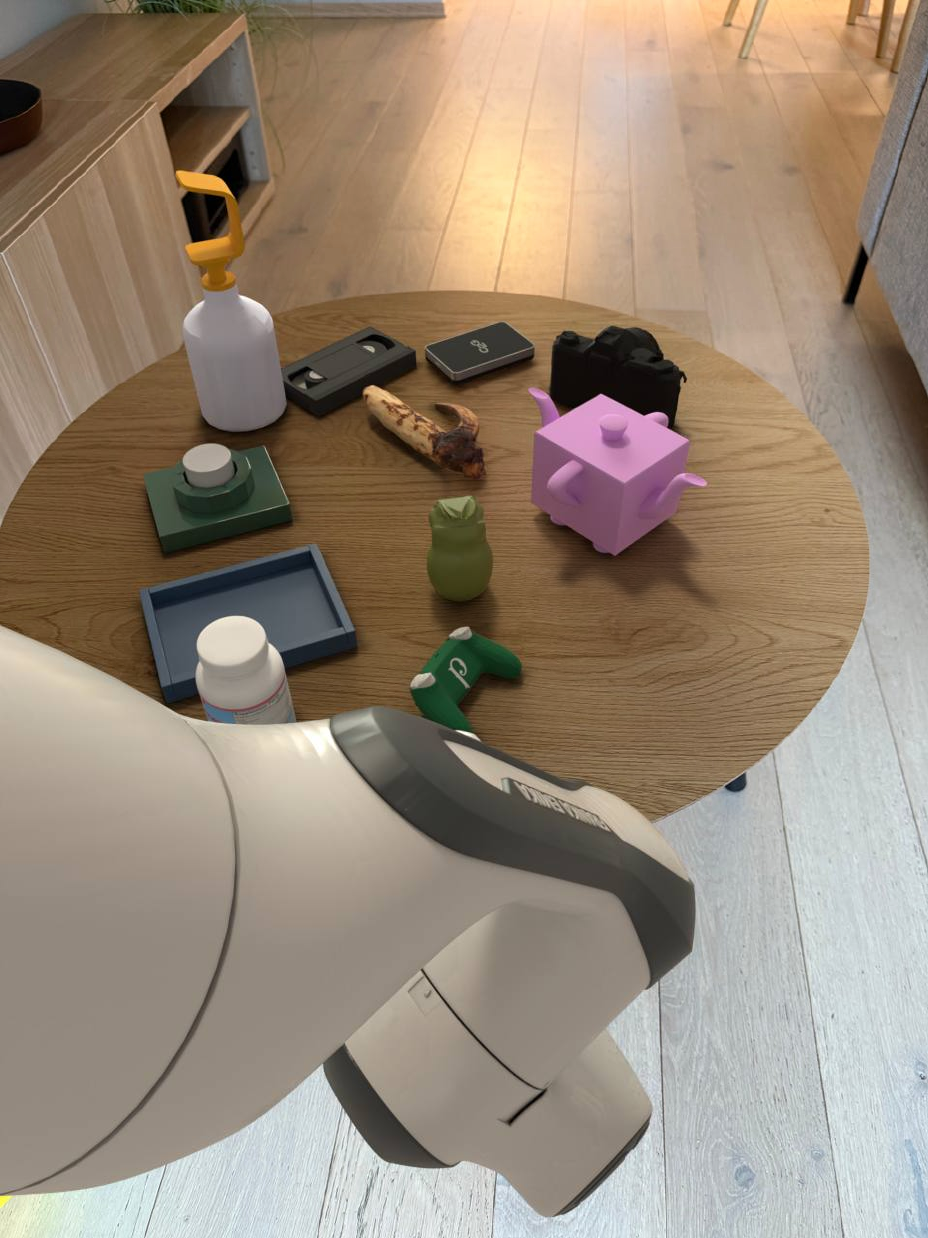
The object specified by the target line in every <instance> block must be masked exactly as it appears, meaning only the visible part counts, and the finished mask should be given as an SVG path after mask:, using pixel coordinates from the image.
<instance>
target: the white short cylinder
mask: <svg viewBox="0 0 928 1238" xmlns="http://www.w3.org/2000/svg"><path fill="white" fill-rule="evenodd" d="M228 449H229V448H228V447H226V446H225V445H222V444H219V443H204V444H200V445H197V446H194V447H192V448H191V449H189V450H188V451H186V453H185V454H184V455H183V457H182V459H183V466H184V470H185V473H186V477H187V480H188V482H189V484H191V485H192V486H193V487H195V488H206V489H209V488H213V487H217V486H221V485H224V484H226V483H227V482H229V481H230V480H232V479H233V477H234V474H235V469H234V465H233V461H232V456H231V453H230V451H229V450H228Z"/></svg>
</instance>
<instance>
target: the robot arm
mask: <svg viewBox="0 0 928 1238" xmlns="http://www.w3.org/2000/svg"><path fill="white" fill-rule="evenodd" d="M473 733H474V732H473ZM473 733H469V732H465V731H461V730H453V729H450V728H448V727H445V726H443V725H441V724H438V723H436V722H433V721H430V720H428V719H427V718H426V717H421V716H418V715H415V714H413V713H410V712H406V711H404V710H403V711H402V710H399V709H395V708H391V707H387V706H382V705H373V706H368V707H365V708H361V709H360V708H359V709H356V710H350V711H346V712H343V713H338V714H333V715H332V716H331V717H330V718H323V719H315V720H307V721H299V722H297V723H287V724H272V725H243V724H225V723H216V722H209V721H208V720H203V719H198V718H193V717H189V716H186V715H183V714H180V713H178V712H176V711H174V710H172V709H171V708H170V707H167V706H166V705H164V704H162V703H160V702H159V701H157V700H156V699H153V698H152V697H150V696H148V695H147V694H145V693H144V692H143V693H142V692H141V691H139V690H138V689H136V688H134V687H133V686H130V685H128V684H127V683H126V682H124V681H122V680H120V679H118V678H116V677H114V676H112V675H111V674H108V673H107V672H104V671H102V670H100V669H98V668H96V667H95V666H92V665H90V664H88V663H86V662H84V661H82V660H80V659H78V658H75V657H74V656H71V655H70V654H68V653H66V652H63V651H61V650H59V649H58V648H55V647H52V646H50V645H48V644H45V643H42V642H40V641H38V640H36V639H34V638H31V637H29V636H26V635H24V634H21V633H19V632H17V631H14V630H12V629H9V628H8V627H5V626H2V625H0V1197H10V1196H11V1197H13V1196H28V1195H30V1196H31V1195H45V1194H58V1193H67V1192H76V1191H81V1190H88V1189H93V1188H94V1189H95V1188H100V1187H103V1186H107V1185H111V1184H115V1183H118V1182H122V1181H125V1180H129V1179H132V1178H134V1177H138V1176H140V1175H143V1174H146V1173H149V1172H152V1171H154V1170H157V1169H160V1168H162V1167H164V1166H166V1165H169V1164H172V1163H174V1162H176V1161H179V1160H181V1159H184V1158H186V1157H188V1156H190V1155H193V1154H195V1153H198V1152H200V1151H203V1150H204V1149H206V1148H209V1147H211V1146H213V1145H216V1144H217V1143H220V1142H222V1141H224V1140H225V1139H227V1138H229V1137H231V1136H233V1135H236V1133H239V1132H240V1131H242V1130H244V1129H245V1128H246V1127H248V1126H249V1125H251V1124H253V1123H255V1122H256V1121H257V1120H259V1119H260V1118H262V1117H263V1116H264V1115H265V1114H267V1113H268V1112H269V1111H270V1110H272V1109H273V1108H274V1107H275V1106H277V1105H278V1104H279V1103H280V1102H282V1101H283V1100H284V1099H285V1098H287V1096H288V1095H290V1094H291V1093H292V1092H293V1091H294V1090H296V1089H297V1088H298V1087H299V1086H300V1085H301V1084H302V1083H304V1082H305V1081H306V1079H308V1078H310V1076H311V1075H313V1073H314V1072H316V1070H318V1069H319V1068H320V1067H321V1066H322V1070H323V1073H324V1076H325V1079H326V1081H327V1083H328V1085H329V1086H330V1089H331V1091H332V1092H333V1094H334V1096H335V1097H336V1099H337V1101H338V1102H339V1105H340V1106H341V1108H342V1109H343V1111H344V1113H345V1114H346V1115H347V1118H348V1119H349V1120H350V1121H351V1123H352V1124H353V1126H354V1127H355V1129H356V1131H357V1132H358V1133H359V1135H360V1136H361V1137H362V1139H363V1140H364V1141H365V1143H366V1144H367V1145H368V1146H369V1148H370V1149H371V1150H372V1151H373V1152H374V1153H375V1154H376V1155H377V1157H379V1158H380V1159H381V1160H382V1161H384V1162H386V1163H388V1164H393V1165H399V1166H404V1167H411V1168H417V1169H430V1170H431V1169H432V1170H435V1169H437V1170H439V1169H452V1168H455V1167H456V1166H458V1165H460V1164H461V1162H468V1163H471V1164H475V1165H478V1166H480V1167H484V1168H486V1169H488V1170H491V1171H493V1172H495V1173H497V1174H499V1175H500V1176H501V1177H502V1178H503V1179H504V1180H505V1181H506V1182H507V1183H508V1184H509V1185H510V1186H511V1187H512V1188H513V1189H514V1191H516V1193H517V1194H518V1195H519V1196H520V1197H521V1198H522V1199H523V1200H524V1201H525V1203H526V1204H527V1205H528V1206H529V1207H530V1208H531V1209H532V1210H533V1211H534V1212H536V1214H538V1215H539V1216H541V1217H543V1218H547V1219H548V1218H556V1217H559V1216H564V1215H566V1214H568V1213H570V1212H571V1211H573V1210H575V1209H576V1208H577V1207H579V1206H580V1205H581V1203H582V1202H584V1201H586V1200H587V1199H588V1198H590V1196H591V1195H593V1193H595V1191H596V1190H597V1189H599V1188H600V1186H601V1185H602V1184H603V1183H605V1181H606V1180H608V1178H609V1177H610V1176H611V1175H612V1174H613V1173H615V1171H616V1170H617V1169H618V1168H619V1167H620V1166H621V1165H622V1164H623V1162H624V1161H625V1160H626V1158H627V1156H628V1155H629V1154H630V1153H631V1152H632V1151H633V1150H635V1149H636V1147H637V1146H638V1145H639V1143H640V1142H641V1141H642V1139H643V1138H644V1136H645V1135H646V1133H647V1131H648V1129H649V1127H650V1125H651V1122H650V1121H651V1118H652V1115H653V1110H654V1106H653V1102H652V1100H651V1098H650V1096H649V1094H648V1093H647V1090H646V1089H645V1086H644V1085H643V1084H642V1082H641V1081H640V1078H639V1077H638V1075H637V1074H636V1072H635V1070H634V1068H633V1067H632V1065H631V1064H630V1062H629V1061H628V1060H627V1058H626V1056H625V1054H624V1053H623V1051H622V1050H621V1049H620V1047H619V1046H618V1043H616V1041H615V1040H614V1038H613V1036H612V1035H611V1033H610V1032H609V1030H607V1028H608V1027H609V1026H610V1025H611V1024H612V1023H613V1022H614V1021H615V1020H616V1019H617V1018H618V1017H619V1015H621V1014H622V1013H623V1012H624V1010H626V1009H627V1008H628V1007H629V1006H630V1005H631V1004H632V1002H634V1001H635V1000H636V999H637V997H639V996H640V995H641V994H642V993H643V992H644V991H648V990H649V989H651V988H652V987H654V985H656V983H658V982H659V981H660V980H662V979H663V977H665V976H666V975H667V974H668V973H669V972H671V971H672V970H673V969H674V968H675V967H676V966H677V965H679V964H680V963H681V962H682V961H683V960H684V959H686V958H687V957H688V956H689V955H690V954H691V953H692V952H693V947H694V941H695V940H694V939H695V931H696V917H697V915H696V913H697V910H696V909H697V907H696V906H697V905H696V889H695V883H694V882H693V881H692V880H691V878H690V877H689V875H688V871H687V869H686V867H685V865H684V863H683V861H682V859H681V857H680V856H679V854H678V853H677V851H676V850H675V848H674V847H673V846H672V844H671V843H670V842H669V840H668V839H667V838H666V837H665V835H664V834H663V833H662V832H661V831H660V830H659V829H658V828H657V827H656V826H655V825H654V824H653V823H652V822H651V821H650V820H649V819H648V818H647V817H646V816H644V814H642V813H641V812H640V811H639V810H638V809H636V808H635V807H634V806H632V805H631V804H630V803H628V802H627V801H625V800H623V799H622V798H620V797H619V796H617V795H615V794H613V793H611V792H609V791H607V790H605V789H602V788H599V787H595V786H594V785H593V784H591V783H589V782H588V781H586V780H583V779H576V778H575V779H574V778H562V777H561V778H560V777H559V776H556V775H554V774H551V773H549V772H547V771H545V770H542V769H540V768H538V767H536V766H534V765H532V764H530V763H528V762H526V761H524V760H521V759H519V758H518V757H515V756H513V755H511V754H509V753H507V752H504V751H502V750H500V749H498V748H496V747H493V746H491V745H489V744H487V743H486V742H485V743H484V742H483V741H482V740H481V739H480V738H479V737H478V736H477V735H476V734H475V733H474V734H473Z"/></svg>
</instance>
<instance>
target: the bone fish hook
mask: <svg viewBox="0 0 928 1238" xmlns="http://www.w3.org/2000/svg"><path fill="white" fill-rule="evenodd" d="M362 399H363V401H364V403H365V405H366V409H367V410H368V411H369V412H371V414H373V416H375V418H376V419H378V421H379V422H380V423H381V425H382V426H383V427H384V428H386V429H387V430H389V431H390V432H392V433H393V434H394V435H396V436H397V437H398V438H400V440H401V441H403V443H405V444H407V445H408V446H410V447H412V449H413V450H415V452H418V453H420V454H422V455H423V456H424V457H425V458H428V459H430V460H432V461H433V462H434V463H435V464H437V465H438V466H440V467H442V468H444V469H446V470H448V471H449V470H450V471H452V472H456V473H461V474H463V478H466V479H470V480H475V481H476V480H480V479H482V478H483V477H484V476H485V475H487V472H486V471H487V470H486V469H485V466H486V464H485V460H484V451H483V450H484V449H483V447H480V446H477V445H476V440H477V437H478V435H479V434H480V422H479V418H477V416H476V414H474V413H473V412H472V411H471V410H470V409H468V408H467V407H465V406H462V405H458V404H455V403H449V402H435V404H434V407H435V408H436V409H438V410H439V411H441V412H444V413H445V414H447V415H451V416H453V417H455V419H456V420H457V421H458V422H459V423H458V425H457V428H454V429H451V430H449V431H447V432H446V430H444V429H443V428H442V427H440V426H439V425H437V424H436V423H435V422H433V421H432V420H431V419H429V418H428V417H426V416H424V415H422V414H420V413H419V412H417V411H416V410H414V409H412V408H411V407H410V406H408V405H407V404H405V403H404V402H403V401H401V400H400V398H398V397H397V396H395V395H393V394H392V393H390V392H388V390H385V389H382V388H381V387H379V386H377V387H376V386H374V385H372V386H369V387H366V388H364V390H363V394H362Z"/></svg>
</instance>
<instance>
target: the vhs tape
mask: <svg viewBox="0 0 928 1238" xmlns="http://www.w3.org/2000/svg"><path fill="white" fill-rule="evenodd" d="M415 367H417V350H415V349H414V348H412V347H410V346H407V345H405V344H404V343H402V342H400V341H398V340H397V339H395V338H393V337H391V336H389V335H388V334H386V333H384V332H382V331H380V330H378V329H376V328H375V327H373V326H367V327H365V328H363V329H361V330H359V331H356V332H355V333H352V334H351V335H348V336H346V337H345V338H342V339H339V340H338V341H335V342H333V343H332V344H329V345H327V346H325V347H322V348H321V349H319V350H316V351H314V352H312V353H310V354H308V355H305V356H303V357H302V358H299V359H297V360H296V361H293V362H291V363H289V364H287V365H285V366H283V367H281V373H282V379H283V385H284V390H285V396H286V397H287V398H288V399H290V400H291V401H293V402H295V403H296V404H298V405H299V406H301V407H303V408H304V409H306V410H307V411H309V412H310V413H312V414H313V415H314V416H316V417H321V416H322V415H324V414H327V413H329V412H330V411H332V410H334V409H336V408H338V407H340V406H342V405H344V404H346V403H347V402H350V401H351V400H353V399H356V398H357V397H359V396H360V395H363V390H364V388H366V387H369V386H372V385H374V386H376V387H379V386H380V385H383V384H384V383H386V382H388V381H390V380H392V379H395V378H396V377H398V376H400V375H402V374H404V373H406V372H407V371H410V370H412V369H413V368H415Z"/></svg>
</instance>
